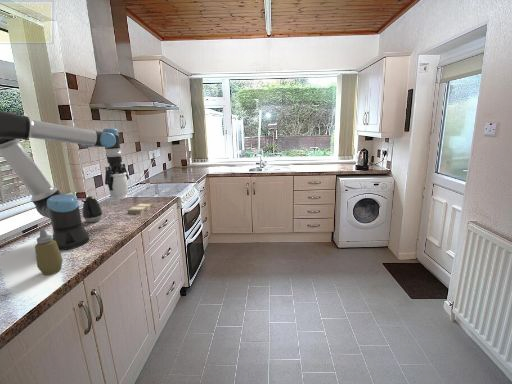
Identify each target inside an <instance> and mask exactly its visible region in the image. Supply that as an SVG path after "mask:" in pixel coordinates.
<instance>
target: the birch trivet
mask: <svg viewBox="0 0 512 384" xmlns="http://www.w3.org/2000/svg"><path fill="white" fill-rule="evenodd" d="M152 208H154V206H153V203H139V204H137V205H134V206H132V207H130V208H128V209H127V214H132V215H133V214H134V215H135V214H136V215H141V214H143V213H145V212H147V211H149V210H150V209H152Z"/></svg>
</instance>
